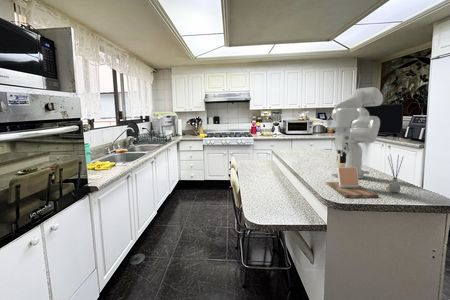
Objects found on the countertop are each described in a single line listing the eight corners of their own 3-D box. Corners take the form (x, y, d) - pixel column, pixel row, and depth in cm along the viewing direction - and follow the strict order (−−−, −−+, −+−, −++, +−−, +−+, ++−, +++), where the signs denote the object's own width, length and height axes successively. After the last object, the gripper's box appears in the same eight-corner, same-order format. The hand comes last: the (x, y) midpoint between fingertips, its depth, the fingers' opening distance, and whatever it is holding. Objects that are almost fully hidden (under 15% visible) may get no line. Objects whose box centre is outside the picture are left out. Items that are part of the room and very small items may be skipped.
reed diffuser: (405, 194, 117) (408, 155, 114) (392, 195, 116) (395, 155, 114) (390, 189, 127) (392, 152, 125) (378, 189, 127) (380, 153, 124)
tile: (355, 167, 128) (356, 166, 127) (358, 187, 125) (359, 187, 124) (337, 167, 128) (338, 167, 127) (339, 187, 126) (340, 187, 124)
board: (352, 184, 137) (352, 182, 137) (378, 197, 113) (378, 194, 113) (324, 184, 137) (325, 182, 137) (345, 198, 114) (345, 195, 113)
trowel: (345, 175, 137) (345, 152, 136) (350, 177, 131) (351, 154, 130) (331, 175, 137) (332, 153, 136) (336, 177, 131) (336, 154, 130)
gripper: (357, 130, 123) (355, 165, 125) (342, 129, 139) (341, 160, 141) (343, 130, 123) (341, 165, 125) (329, 129, 140) (328, 160, 142)
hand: (341, 162), depth 133 cm, fingers closed on trowel, 3 cm apart
